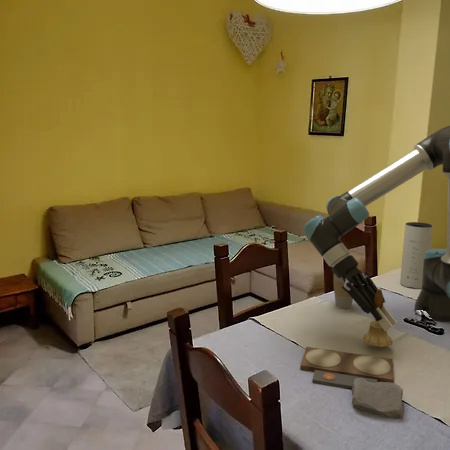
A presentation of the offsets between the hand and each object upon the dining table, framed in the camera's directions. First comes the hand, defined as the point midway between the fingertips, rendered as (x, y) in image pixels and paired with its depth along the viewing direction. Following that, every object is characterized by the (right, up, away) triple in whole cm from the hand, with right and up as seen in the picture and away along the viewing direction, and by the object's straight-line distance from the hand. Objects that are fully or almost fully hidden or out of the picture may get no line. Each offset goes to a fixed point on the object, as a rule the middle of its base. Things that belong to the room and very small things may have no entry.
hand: (391, 326), depth 129 cm
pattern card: (-17, -11, -13) cm, 24 cm away
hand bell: (-3, -5, +4) cm, 7 cm away
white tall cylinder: (+30, +4, +56) cm, 64 cm away
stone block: (-12, -14, -22) cm, 29 cm away
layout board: (-14, -10, -5) cm, 18 cm away
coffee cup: (-4, -1, +36) cm, 36 cm away
